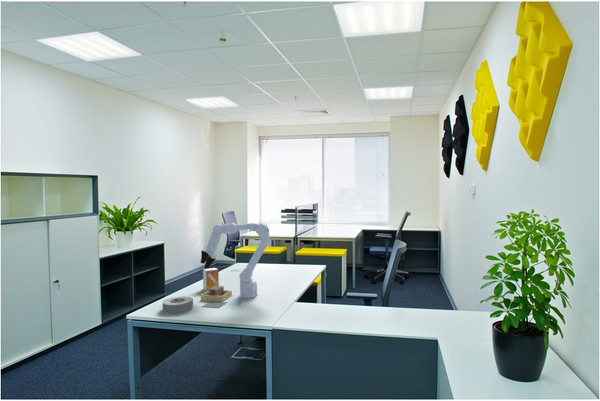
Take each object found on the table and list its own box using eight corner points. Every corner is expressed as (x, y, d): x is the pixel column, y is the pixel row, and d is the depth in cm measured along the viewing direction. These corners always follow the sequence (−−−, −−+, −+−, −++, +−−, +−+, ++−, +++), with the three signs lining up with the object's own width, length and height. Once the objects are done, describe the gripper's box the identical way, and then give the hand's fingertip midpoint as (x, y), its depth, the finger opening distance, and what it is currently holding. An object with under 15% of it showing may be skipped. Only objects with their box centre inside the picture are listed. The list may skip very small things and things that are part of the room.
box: (223, 296, 221) (223, 286, 220) (217, 300, 213) (217, 289, 213) (215, 296, 222) (215, 285, 222) (209, 299, 214) (209, 289, 214)
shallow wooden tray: (231, 296, 222) (231, 290, 221) (222, 302, 210) (222, 296, 210) (211, 295, 225) (211, 289, 225) (200, 301, 213) (200, 295, 213)
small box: (206, 291, 233) (206, 270, 233) (203, 289, 238) (202, 269, 238) (219, 289, 238) (218, 269, 237) (215, 287, 243) (215, 267, 243)
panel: (227, 303, 208) (227, 302, 208) (219, 308, 198) (218, 307, 198) (210, 302, 211) (210, 301, 211) (201, 307, 201) (201, 306, 201)
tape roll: (187, 314, 191) (187, 304, 191) (157, 314, 191) (157, 304, 191) (196, 305, 206) (196, 295, 206) (168, 305, 207) (168, 296, 207)
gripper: (202, 238, 224) (194, 259, 225) (210, 246, 212) (201, 268, 213) (213, 241, 228) (205, 262, 229) (221, 249, 216) (212, 271, 217)
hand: (204, 265), depth 221 cm, fingers open, 7 cm apart
